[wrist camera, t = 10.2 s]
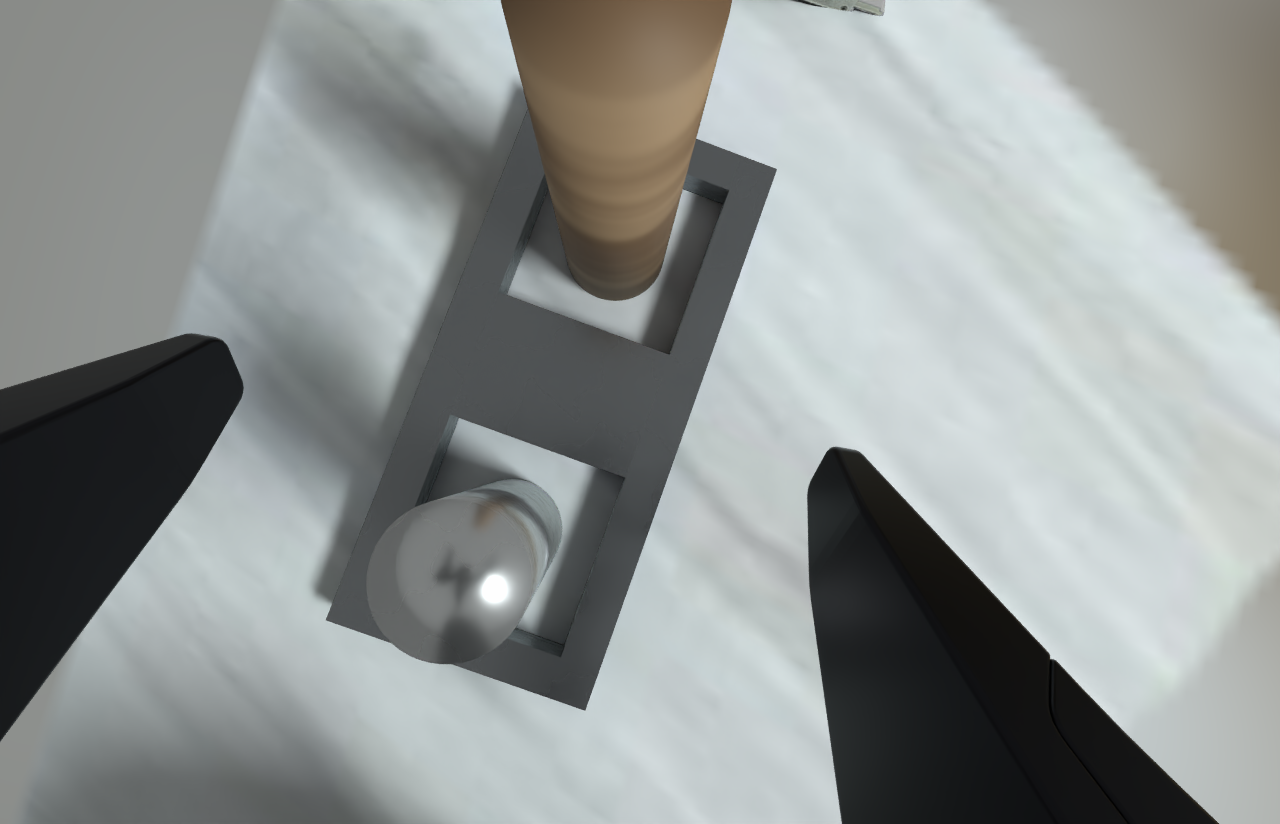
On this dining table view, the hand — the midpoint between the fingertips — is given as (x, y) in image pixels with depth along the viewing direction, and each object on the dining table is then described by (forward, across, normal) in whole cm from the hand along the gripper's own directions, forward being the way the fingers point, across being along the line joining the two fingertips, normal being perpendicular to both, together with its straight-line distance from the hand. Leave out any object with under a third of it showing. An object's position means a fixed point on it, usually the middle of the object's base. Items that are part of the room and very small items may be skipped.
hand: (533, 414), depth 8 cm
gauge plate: (+11, +1, +8) cm, 14 cm away
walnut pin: (+15, 0, +4) cm, 15 cm away
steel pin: (+7, +2, +12) cm, 14 cm away
